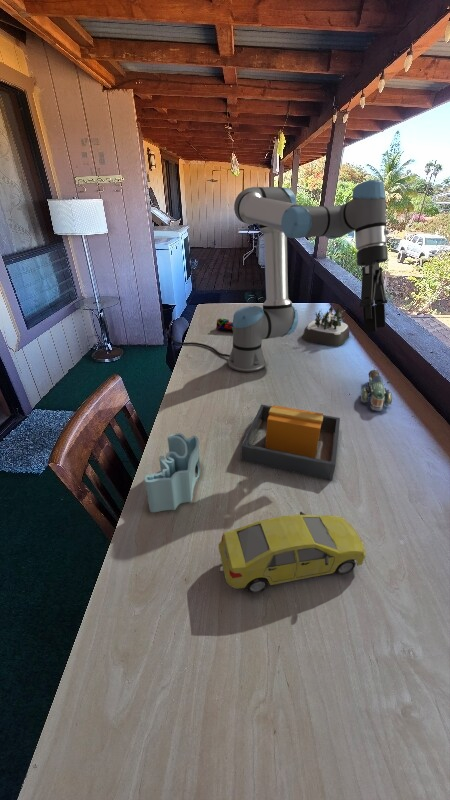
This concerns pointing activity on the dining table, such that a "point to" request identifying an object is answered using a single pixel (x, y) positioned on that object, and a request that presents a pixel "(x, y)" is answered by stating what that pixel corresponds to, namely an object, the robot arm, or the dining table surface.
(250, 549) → the toy car
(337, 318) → the miniature diorama
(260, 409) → the rectangular frame
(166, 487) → the squiggly pen holder
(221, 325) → the sculpture
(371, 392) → the hoverbike
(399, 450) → the dining table surface
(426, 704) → the dining table surface
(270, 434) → the orange striped block
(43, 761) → the dining table surface
